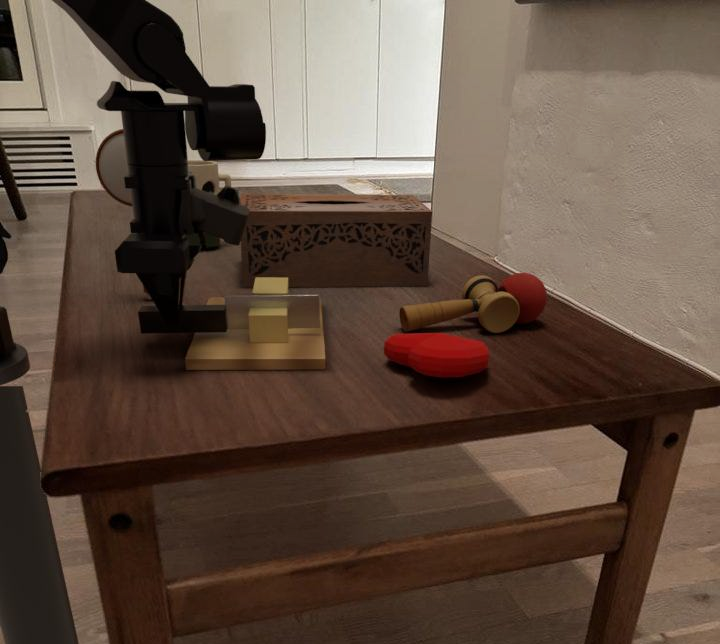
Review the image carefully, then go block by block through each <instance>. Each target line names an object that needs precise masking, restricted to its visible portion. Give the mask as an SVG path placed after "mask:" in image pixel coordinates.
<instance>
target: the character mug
mask: <svg viewBox="0 0 720 644" xmlns="http://www.w3.org/2000/svg"><path fill="white" fill-rule="evenodd" d="M188 168H189V172H192V175H195V178H196V188H197V189H200V190H203V191H206V192H210V191H211V192H213V194H215V195H217V194H218V193H219V192H220V191H221V190H222V189H220V181H221V182H223V181H224V186H225V185H227V186H229V187H232V177H231V175H230V174H228V173H219V164H218V161H203V160H202V159H188ZM184 238H187V241H188V244H189V245H203V244H205V248H214V247H217V246H220V244H221V238H218V237H216V236H213V235H210V234H208V233H207V234H206V236H205V238H199V236H198V233H193V235H186V236H185V237H184Z"/></svg>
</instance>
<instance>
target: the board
mask: <svg viewBox="0 0 720 644" xmlns="http://www.w3.org/2000/svg"><path fill="white" fill-rule="evenodd" d="M224 297H225V296H224ZM224 297H221V296H220V297H219V296H218V297H217V296H215V297H214V296H213V297H211V296H210V297H208V299H207V302H206V304H205V305H225V298H224ZM322 306H323V305H322V298H321V297H319V312H320V328H290V329H288V343H250V336H249V329H233V330H227V331H226V332H206V333H194V335H193V337H192V340H191V343H190V345H189V347H188V350H187V352H186V355H185V357H184V363H185V371H229V370H230V371H237V370H238V371H264V370H265V371H272V370H273V371H275V370H276V371H281V370H282V371H283V370H284V371H286V370H287V371H288V370H289V371H290V370H291V371H293V370H294V371H296V370H298V371H299V370H300V371H306V370H309V371H310V370H311V371H312V370H313V371H315V370H317V371H319V370H321V371H322V370H324V371H325V370H326V369H327V367H326V365H327V364H326V362H327V358H326V346H325V333H324V320H323V307H322Z"/></svg>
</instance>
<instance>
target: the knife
mask: <svg viewBox="0 0 720 644" xmlns="http://www.w3.org/2000/svg"><path fill="white" fill-rule="evenodd" d="M224 298H225V305H206V304H183V305H179V314H178V323H177V324H176V325H168V324H166V322H165V320H164V319H163V317H162V315H161V314H160V312H159V310H158V309H157V307H156V305H141V306H140V308H139V310H138V311H137V317H138V322H139V331H140V335H141V334H143V335H144V334H146V335H147V334H192V333H193V334H195V333H206V332H226V331H227V330H233V329H249V317H248V315H249V310H250V308H287V311H288V329H290V328H320V312H319V298H320V294H317V293H315V294H312V293H311V294H289V295H252V294H247V295H224Z"/></svg>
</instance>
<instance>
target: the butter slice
mask: <svg viewBox="0 0 720 644" xmlns="http://www.w3.org/2000/svg"><path fill="white" fill-rule="evenodd" d="M248 317H249V336H250V343H288V311H287V308H250V310H249V315H248Z"/></svg>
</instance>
